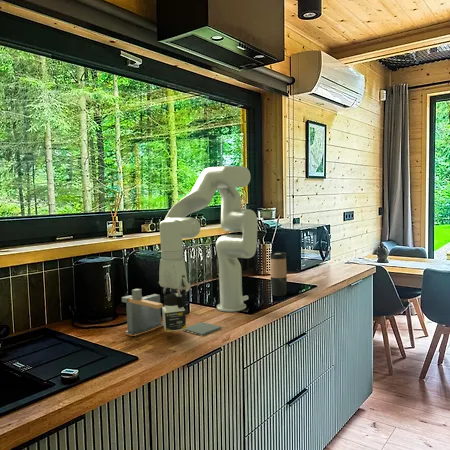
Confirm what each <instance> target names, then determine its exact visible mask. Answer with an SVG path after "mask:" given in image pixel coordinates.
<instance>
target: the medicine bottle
mask: <svg viewBox="0 0 450 450" xmlns="http://www.w3.org/2000/svg"><path fill="white" fill-rule="evenodd" d="M178 296H179V295H178V292H177V293H174V292H172V294H167V295H166V296H165V297H164V296H163V300H164V301H163V302H164V304H163V305H164V306H163V307H162V308H161V313H162V314H161V315H162V324H163V326H164V327H163V328H164V331H165V332H166V333H170V332H176V331H177V332H178V331H183V330H185V329H186V327H187V319H186V318H187V317H186V316H187V315H186V309H185V308H184V307H182V308H178V299H177V297H178Z"/></svg>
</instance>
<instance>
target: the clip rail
mask: <svg viewBox="0 0 450 450" xmlns="http://www.w3.org/2000/svg"><path fill="white" fill-rule="evenodd" d="M142 299H144V300H148V301H153V302H157V303H161V295H160V294H157V293H153V294H150V295H146V296H142ZM161 313H162V308H159V309H157V308H152V307H148V306H144V305H139V304H135V303H131V302H129V303H126V324H127V330H126V331H125V333H128V334H131V335H135V334H139V333H142V332H145V331H148V330H151V329H153V328H156V327H159V326H163V322H162V314H161Z"/></svg>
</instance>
